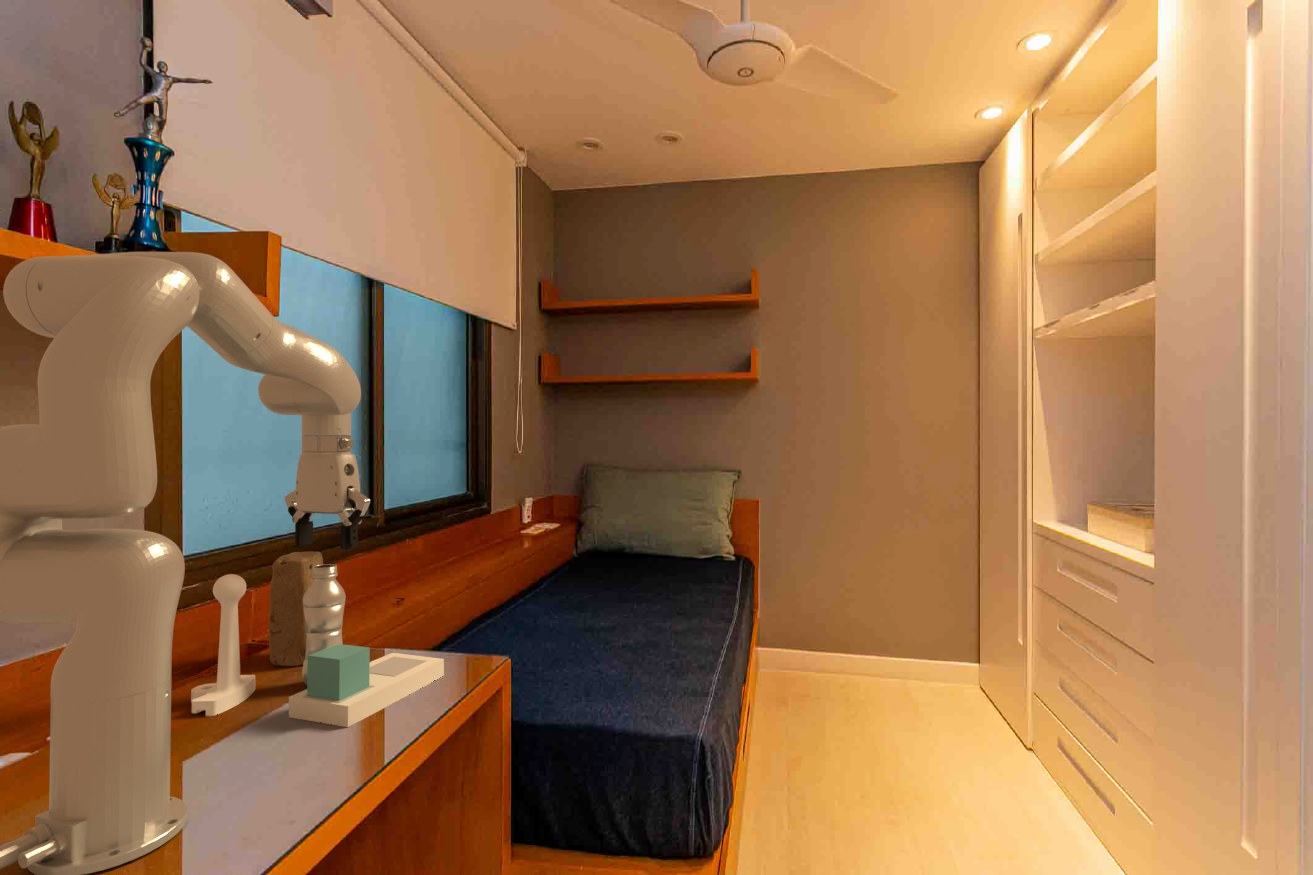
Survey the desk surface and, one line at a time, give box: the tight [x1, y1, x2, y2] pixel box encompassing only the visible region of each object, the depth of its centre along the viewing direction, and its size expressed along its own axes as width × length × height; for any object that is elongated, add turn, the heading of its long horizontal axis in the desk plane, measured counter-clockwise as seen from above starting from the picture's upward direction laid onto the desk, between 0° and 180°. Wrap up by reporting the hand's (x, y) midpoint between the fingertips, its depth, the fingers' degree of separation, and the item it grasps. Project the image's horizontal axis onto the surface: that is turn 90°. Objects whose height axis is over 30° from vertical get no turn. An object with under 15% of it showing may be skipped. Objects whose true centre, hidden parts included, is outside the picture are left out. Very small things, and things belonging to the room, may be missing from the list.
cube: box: [306, 644, 371, 701], centre depth 99 cm, size 6×6×6 cm
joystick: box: [190, 573, 256, 717], centre depth 103 cm, size 11×8×20 cm
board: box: [288, 652, 445, 728], centre depth 106 cm, size 22×11×3 cm, turn 162°
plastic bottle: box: [301, 563, 347, 686], centre depth 110 cm, size 6×7×20 cm
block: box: [268, 550, 324, 667], centre depth 123 cm, size 11×8×20 cm
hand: (326, 546), depth 111 cm, fingers open, 9 cm apart
